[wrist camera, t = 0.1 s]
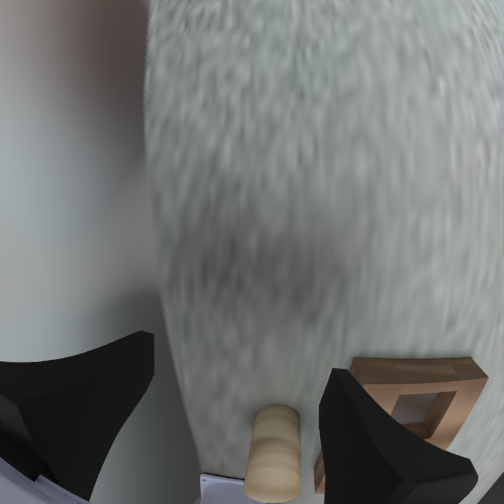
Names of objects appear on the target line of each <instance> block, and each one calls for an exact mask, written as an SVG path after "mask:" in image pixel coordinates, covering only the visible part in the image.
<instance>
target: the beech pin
mask: <svg viewBox="0 0 504 504" xmlns="http://www.w3.org/2000/svg"><path fill="white" fill-rule="evenodd" d="M243 491H244V493H245V494H246V495H247V496H248V497H250V498H251V499H254V500H256V501H260V502H265V503H282V502H287V501H290V500H292V499H295V498H296V497H297V496H299V494H300V492H301V444H300V416H299V414H298V413H297V411H295V410H294V409H293V408H291V407H288V406H285V405H269V406H266V407H264V408H262V409H260V410H259V411H258V412H257V414H256V416H255V420H254V427H253V433H252V439H251V446H250V452H249V458H248V464H247V470H246V476H245V481H244V487H243Z"/></svg>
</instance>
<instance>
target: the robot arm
mask: <svg viewBox="0 0 504 504" xmlns="http://www.w3.org/2000/svg"><path fill="white" fill-rule="evenodd" d="M153 376H154V334H151V333H148V332H144V331H138V332H136V333H133V334H131V335H128V336H126V337H123V338H121V339H119V340H116V341H114V342H112V343H109V344H107V345H104V346H102V347H99V348H96V349H93V350H90V351H87V352H85V353H82V354H78V355H75V356H71V357H66V358H61V359H56V360H48V361H41V362H2V361H0V504H92V503H90V502H89V500H90V497H91V494H92V491H93V488H94V485H95V483H96V480H97V478H98V475H99V472H100V470H101V468H102V465H103V463H104V461H105V459H106V456H107V454H108V452H109V450H110V448H111V446H112V444H113V442H114V440H115V438H116V436H117V434H118V432H119V431H120V429H121V427H122V426H123V424H124V423H125V421H126V420H127V419H128V417H129V416H130V414H131V413H132V411H133V410H134V408H135V407H136V405H137V404H138V403H139V401H140V400H141V398H142V397H143V395H144V394H145V392H146V390H147V388H148V386H149V384H150V382H151V380H152V378H153ZM319 431H320V439H321V446H322V454H323V462H324V471H325V498H324V504H459V503H460V502H461V501H462V500H463V499H464V498H465V497H466V496H467V495H468V494H469V493H470V492H471V491H472V489H473V488H474V487H475V485H476V483H477V481H478V475H477V472H476V470H475V468H474V466H473V464H472V462H471V460H470V459H468V458H465V457H462V456H459V455H456V454H453V453H450V452H448V451H445V450H443V449H441V448H439V447H437V446H435V445H433V444H431V443H429V442H427V441H425V440H423V439H422V438H420V437H419V436H417V435H415V434H414V433H412V432H411V431H409V430H408V429H406V428H405V427H404V426H403V425H401V424H400V423H399V422H397V421H396V420H395V419H394V418H393V417H391V416H390V415H389V414H388V413H387V412H386V411H385V410H384V409H383V408H382V407H381V406H380V405H379V404H378V403H377V402H376V401H375V400H374V399H373V398H372V397H371V396H370V395H369V394H368V393H367V391H366V390H365V389H364V388H363V387H362V386H361V384H360V383H359V382H358V381H357V380H356V379H355V378H354V376H353V375H352V374H351V373H350V372H349V371H348V370H347V369H338V368H332V371H331V374H330V377H329V380H328V383H327V385H326V388H325V391H324V394H323V396H322V399H321V402H320V404H319ZM200 484H201V503H200V504H266V503H265V502H260V501H256V500H254V499H251V498H250V497H248V496H247V495H246V494H245V493H244V491H243V487H244V480H237V479H230V478H224V477H219V476H213V475H208V474H201V476H200Z"/></svg>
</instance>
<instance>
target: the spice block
mask: <svg viewBox="0 0 504 504" xmlns="http://www.w3.org/2000/svg"><path fill="white" fill-rule="evenodd" d="M350 373H351V374H352V375H353V376H354V378H355V379H356V380H357V381H358V382H359V383H360V384H361V386H362V387H363V388H364V389H365V390H366V391H367V393H368V394H369V395H370V396H371V397H372V398H373V399H374V400H375V401H376V402H377V403H378V404H379V405H380V406H381V407H382V408H383V409H384V410H385V411H386V412H387V413H388V414H389V415H390V416H391V417H393V418H394V419H395V420H396V421H397V422H399V423H400V424H401V425H403V426H404V427H405V428H406V429H408V430H409V431H411V432H412V433H414V434H415V435H417V436H419V437H420V438H422V439H423V440H425V441H427V442H429V443H431V444H433V445H435V446H437V447H439V448H441V449H443V450H445V451H446V450H447V448H448V447H449V445H450V444H451V442H452V441H453V439H454V438H455V436H456V435H457V433H458V432H459V430H460V428H461V427H462V425H463V424H464V422H465V420H466V419H467V417H468V415H469V414H470V412H471V410H472V408H473V407H474V405H475V403H476V401H477V399H478V398H479V396H480V394H481V392H482V390H483V388H484V386H485V384H486V382H487V380H488V378H489V377H488V376H487V375H486V374H485V373H484V372H483V370H482V369H481V368H480V367H479V366H478V365H477V364H476V362H475V361H474V360H473V359H472V358H471V357H470V358H447V359H378V358H354V360H353V364H352V367H351V370H350ZM314 481H315V493H325V471H324V462H323V454H322V451H321V453H320V456H319V458H318V460H317V463H316V465H315V467H314Z"/></svg>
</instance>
